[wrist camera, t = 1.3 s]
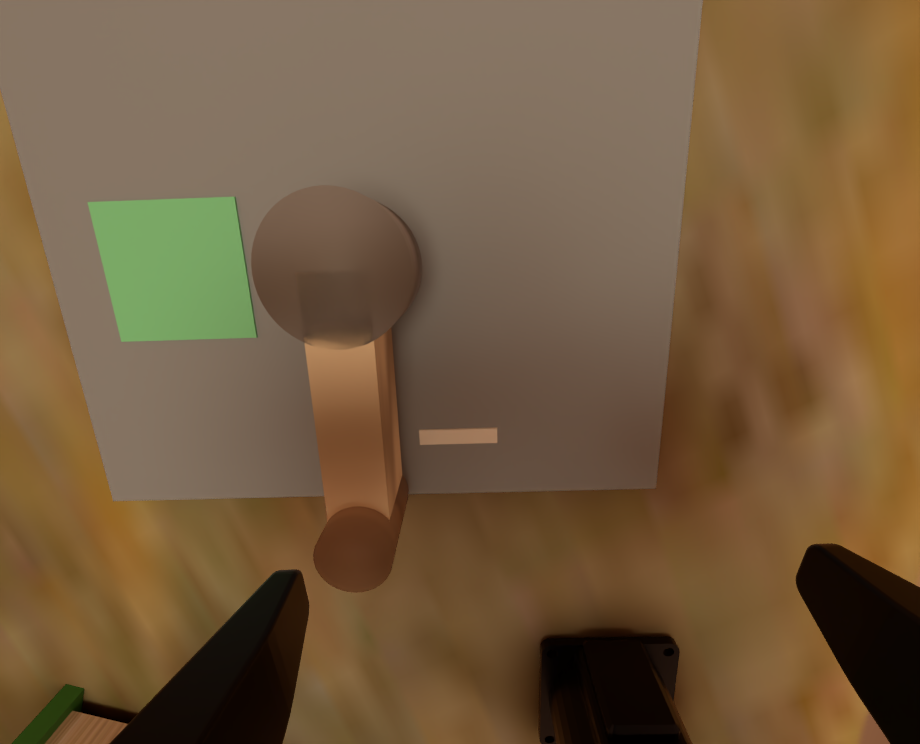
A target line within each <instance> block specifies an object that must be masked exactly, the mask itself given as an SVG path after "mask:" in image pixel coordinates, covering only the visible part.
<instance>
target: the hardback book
mask: <svg viewBox="0 0 920 744" xmlns="http://www.w3.org/2000/svg"><path fill="white" fill-rule="evenodd" d="M83 695H84V688H80V687H76V686H72V685H68V684H66V685H65V686H64V687H63V688H62V689H61V690H60V691H59V692H58V693H57V695H56V696H55V697H54V698H53V699H52V700H51V701H50V702H49V703H48V704H47V706H46V707H45V708H44V709H43V710H42V711H41V712H40V713H39V714H38V715H37V716H36V718H35V719H34V720H33V721H32V722H31V723H30V724H29V725H28V726H27V727H26V729H25V730H24V731H23V732H22V733H21V734H20V735H19V736H18V737H17V738H16V739H15V741H14V742H13V743H12V744H109V743H110V742H111V741H112V740H113V739H114V738H115V737H116V736H117V735H118V734H119V733H120V732H121V731H122V730H123V729H124V728H125V727H126V726H127V725H128V724H126V723H122V722H118V721H113V720H109V719H105V718H101V717H97V716H93V715H89V714H84V713H81V712H82V703H83Z"/></svg>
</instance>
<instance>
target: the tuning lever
mask: <svg viewBox="0 0 920 744" xmlns="http://www.w3.org/2000/svg"><path fill="white" fill-rule="evenodd" d="M251 268H252V276H253V281H254V285H255V288H256V291H257V294H258V296H259V298H260V300H261V302H262V304H263V306H264V307H265V309H266V311H267V312H268V314H269V315H270V316H271V317H272V318H273V320H274V321H275V322H276V323H277V324H278V325H279V326H280V327H281V328H282V329H283V330H285V331H286V332H287V333H289V334H290V335H291V336H293V337H295V338H296V339H298V340H300V341H302V342H304V344H305V351H306V359H307V367H308V375H309V382H310V390H311V398H312V405H313V413H314V421H315V429H316V436H317V444H318V452H319V459H320V467H321V475H322V482H323V490H324V498H325V506H326V513H327V521H328V522H327V524H326V526H325V528H324V530H323V532H322V534H321V536H320V538H319V540H318V542H317V544H316V546H315V549H314V555H313V557H314V564H315V567H316V569H317V571H318V573H319V574H320V576H321V577H322V578H323V579H324V580H325V581H326V582H327V583H328V584H330V585H332V586H333V587H335V588H337V589H340V590H343V591H347V592H364V591H368V590H372V589H374V588H376V587H377V586H379V585H380V584H382V583H383V582H384V581H385V580H386V578H387V577H388V576H389V574H390V571H391V568H392V564H393V560H394V555H395V551H396V547H397V542H398V538H399V534H400V529H401V525H402V521H403V516H404V512H405V508H406V503H407V499H408V494H409V489H408V484H407V481H406V479H405V478H404V476H403V475H402V464H401V451H400V438H399V424H398V411H397V398H396V385H395V371H394V358H393V345H392V331H391V327H392V326H393V325H394V324H395V323H396V321H397V320H398V319H399V318H400V317H401V316H402V315H403V314H404V313H405V312H406V311H407V309H408V308H409V307H410V305H411V304H412V302H413V301H414V299H415V297H416V295H417V292H418V290H419V286H420V283H421V276H422V261H421V254H420V250H419V247H418V244H417V241H416V239H415V237H414V235H413V233H412V231H411V230H410V228H409V227H408V226H407V224H406V223H405V222H404V221H403V220H402V219H401V217H400V216H398V215H397V214H396V213H395V212H394V211H392V210H391V209H389V208H388V207H386V206H384V205H382V204H380V203H379V202H377V201H375V200H373V199H371V198H369V197H367V196H365V195H363V194H360V193H358V192H356V191H354V190H350V189H347V188H344V187H338V186H330V185H320V186H311V187H307V188H303V189H300V190H298V191H295V192H293V193H291V194H289V195H287V196H286V197H284V198H282V199H281V200H280V201H279V202H278V203H276V204H275V205H274V206H273V207H272V208H271V209H270V210H269V212H268V213H267V214H266V215H265V217H264V218H263V220H262V221H261V223H260V225H259V228H258V230H257V232H256V235H255V238H254V241H253V246H252V252H251Z"/></svg>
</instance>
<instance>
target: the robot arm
mask: <svg viewBox="0 0 920 744" xmlns="http://www.w3.org/2000/svg"><path fill="white" fill-rule="evenodd" d="M796 585H797V588H798V591H799V593H800V595H801V597H802V598H803V600H804V602H805V604H806V605H807V607H808V609H809V611H810V613H811V614H812V616H813V618H814V620H815V622H816V623H817V625H818V627H819V629H820V631H821V632H822V634H823V636H824V638H825V639H826V641H827V643H828V645H829V647H830V648H831V650H832V652H833V654H834V656H835V657H836V659H837V661H838V663H839V664H840V666H841V668H842V670H843V671H844V673H845V675H846V677H847V678H848V680H849V682H850V683H851V685H852V686H853V688H854V690H855V691H856V693H857V694H858V696H859V697H860V699H861V700H862V702H863V703H864V705H865V706H866V708H867V709H868V711H869V712H870V714H871V715H872V717H873V718H874V720H875V721H876V723H877V724H878V726H879V727H880V729H881V730H882V732H883V733H884V735H885V736H886V738H887V739H888V741H889V742H890V744H920V587H918V586H916V585H914V584H912V583H910V582H908V581H907V580H905V579H903V578H901V577H899V576H897V575H895V574H893V573H891V572H890V571H888V570H886V569H884V568H882V567H880V566H878V565H876V564H874V563H872V562H871V561H869V560H867V559H865V558H863V557H861V556H859V555H857V554H855V553H853V552H852V551H850V550H848V549H846V548H844V547H842V546H840V545H837V544H814V545H811V546H809V547H808V548H807V550H806V552H805V555H804V557H803V560H802V562H801V565H800V567H799V570H798V572H797V575H796ZM308 616H309V601H308V596H307V592H306V588H305V584H304V579H303V575H302V573H301V572H300V571H299V570H279V571H276V572H275V573H273V574H272V575H271V576H270V577H269V578H268V579H267V580H266V581H265V582H264V583H263V584H262V585H261V586H260V587H259V588H258V589H257V590H256V592H255V593H254V594H253V595H252V596H251V597H250V598H249V599H248V600H247V601H246V602H245V603H244V604H243V605H242V606H241V607H240V608H239V609H238V610H237V611H236V612H235V613H234V614H233V615H232V616H231V618H230V619H229V620H228V621H227V622H226V623H225V624H224V625H223V626H222V627H221V628H220V629H219V630H218V631H217V632H216V633H215V634H214V635H213V636H212V637H211V638H210V639H209V640H208V641H207V642H206V644H205V645H204V646H203V647H202V648H201V649H200V650H199V651H198V652H197V653H196V654H195V655H194V656H193V657H192V658H191V659H190V660H189V661H188V662H187V663H186V664H185V665H184V666H183V667H182V668H181V669H180V671H179V672H178V673H177V674H176V675H175V676H174V677H173V678H172V679H171V680H170V681H169V682H168V683H167V684H166V685H165V686H164V687H163V688H162V689H161V690H160V691H159V692H158V693H157V694H156V695H155V697H154V698H153V699H152V700H151V701H150V702H149V703H148V704H147V705H146V706H145V707H144V708H143V709H142V710H141V711H140V712H139V713H138V714H137V715H136V716H135V717H134V718H133V719H132V720H131V721H130V723H129V724H128V725H127V726H126V727H125V728H124V729H123V730H122V731H121V732H120V733H119V734H118V735H117V736H116V737H115V738H114V739H113V740H112V741H111V742H110V743H109V744H282V743H283V740H284V736H285V733H286V729H287V725H288V721H289V717H290V713H291V708H292V703H293V698H294V693H295V687H296V682H297V676H298V671H299V665H300V660H301V654H302V649H303V643H304V638H305V632H306V627H307V621H308ZM666 648H668V649H666ZM549 650H553V651H549ZM678 659H679V648H678V646H677V644H676V642H675V641H674V639H672V638H671V637H610V638H551V639H546V640H544V641H543V642H542V643H541V646H540V683H539V738H540V742H541V744H692V742H691V740H690V738H689V735H688V733H687V731H686V729H685V727H684V724H683V722H682V720H681V718H680V716H679V713H678V711H677V709H676V707H675V705H674V702H673V699H674V691H675V683H676V675H677V667H678Z"/></svg>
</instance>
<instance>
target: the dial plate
mask: <svg viewBox="0 0 920 744" xmlns="http://www.w3.org/2000/svg"><path fill="white" fill-rule="evenodd" d="M702 3H703V0H0V89H1V93H2V97H3V100H4V104H5V108H6V111H7V115H8V119H9V122H10V126H11V130H12V133H13V137H14V140H15V144H16V148H17V151H18V155H19V159H20V162H21V166H22V170H23V173H24V177H25V181H26V184H27V188H28V192H29V195H30V199H31V202H32V206H33V210H34V213H35V217H36V221H37V224H38V228H39V232H40V235H41V239H42V243H43V246H44V250H45V254H46V257H47V261H48V264H49V268H50V272H51V275H52V279H53V283H54V286H55V290H56V294H57V297H58V301H59V305H60V308H61V312H62V316H63V319H64V323H65V326H66V330H67V334H68V337H69V341H70V345H71V348H72V352H73V356H74V359H75V363H76V367H77V370H78V374H79V378H80V381H81V385H82V388H83V392H84V396H85V399H86V403H87V407H88V410H89V414H90V418H91V421H92V425H93V429H94V432H95V436H96V439H97V443H98V447H99V450H100V454H101V458H102V461H103V465H104V469H105V472H106V476H107V480H108V483H109V487H110V491H111V494H112V498H113V501H137V500H181V499H224V498H268V497H312V496H324V490H323V482H322V475H321V467H320V459H319V452H318V444H317V436H316V429H315V421H314V413H313V405H312V398H311V390H310V382H309V375H308V367H307V359H306V351H305V344H304V342H302V341H300V340H298V339H296V338H295V337H293V336H291V335H290V334H289V333H287V332H286V331H285V330H283V329H282V328H281V327H280V326H279V325H278V324H277V323H276V322H275V321H274V320H273V318H272V317H271V316H270V315H269V314H268V312H267V311H266V309H265V307H264V306H263V304H262V302H261V300H260V298H259V296H258V294H257V291H256V288H255V285H254V281H253V276H252V268H251V252H252V246H253V241H254V238H255V235H256V232H257V230H258V228H259V225H260V223H261V221H262V220H263V218H264V217H265V215H266V214H267V213H268V212H269V210H270V209H271V208H272V207H273V206H274V205H275V204H276V203H278V202H279V201H280V200H281V199H282V198H284V197H286V196H287V195H289V194H291V193H293V192H295V191H298V190H300V189H303V188H307V187H311V186H320V185H330V186H338V187H344V188H347V189H350V190H354V191H356V192H358V193H360V194H363V195H365V196H367V197H369V198H371V199H373V200H375V201H377V202H379V203H380V204H382V205H384V206H386V207H388V208H389V209H391V210H392V211H394V212H395V213H396V214H397V215H398V216H400V217H401V219H402V220H403V221H404V222H405V223H406V224H407V226H408V227H409V228H410V230H411V231H412V233H413V235H414V237H415V239H416V241H417V244H418V247H419V250H420V254H421V261H422V276H421V283H420V286H419V290H418V292H417V295H416V297H415V299H414V301H413V302H412V304H411V305H410V307H409V308H408V309H407V311H406V312H405V313H404V314H403V315H402V316H401V317H400V318H399V319H398V320H397V321H396V323H395V324H394V325H393V326H392V327H391V331H392V345H393V358H394V371H395V385H396V398H397V411H398V424H399V438H400V451H401V464H402V475H403V476H404V478H405V479H406V481H407V484H408V489H409V494H443V493H487V492H530V491H574V490H618V489H656V483H657V473H658V462H659V452H660V441H661V431H662V420H663V410H664V400H665V389H666V379H667V368H668V358H669V347H670V337H671V326H672V316H673V306H674V295H675V285H676V274H677V264H678V253H679V243H680V233H681V222H682V212H683V201H684V191H685V180H686V170H687V159H688V149H689V139H690V128H691V118H692V107H693V97H694V86H695V76H696V66H697V55H698V45H699V34H700V24H701V13H702Z"/></svg>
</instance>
